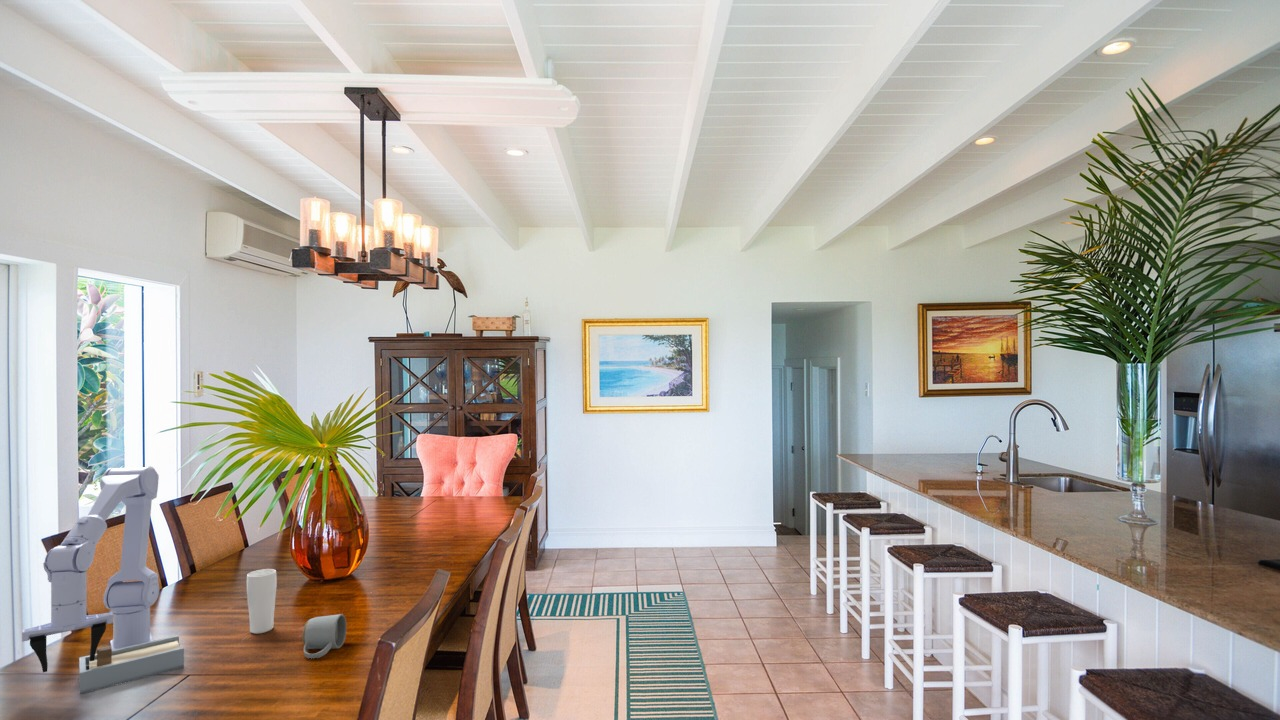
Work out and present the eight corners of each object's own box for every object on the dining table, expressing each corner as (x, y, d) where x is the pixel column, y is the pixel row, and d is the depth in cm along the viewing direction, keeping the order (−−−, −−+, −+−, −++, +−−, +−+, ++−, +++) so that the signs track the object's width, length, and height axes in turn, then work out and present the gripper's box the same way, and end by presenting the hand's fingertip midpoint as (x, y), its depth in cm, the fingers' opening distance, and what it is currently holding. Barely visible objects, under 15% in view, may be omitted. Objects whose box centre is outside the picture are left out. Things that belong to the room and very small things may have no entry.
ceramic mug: (313, 641, 161) (313, 610, 161) (347, 639, 162) (346, 609, 162) (294, 661, 151) (294, 628, 151) (331, 659, 151) (330, 626, 151)
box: (79, 677, 143) (79, 657, 143) (178, 653, 155) (178, 634, 155) (79, 694, 136) (79, 673, 136) (183, 667, 148) (183, 648, 148)
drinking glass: (243, 630, 169) (243, 572, 169) (272, 623, 173) (272, 567, 173) (250, 638, 164) (250, 578, 164) (280, 630, 168) (279, 572, 169)
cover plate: (89, 663, 143) (89, 646, 143) (177, 643, 154) (177, 626, 154) (89, 675, 138) (89, 657, 138) (181, 653, 148) (181, 636, 148)
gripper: (21, 615, 131) (21, 682, 131) (113, 597, 140) (113, 660, 140) (23, 605, 136) (23, 670, 136) (112, 589, 146) (112, 650, 145)
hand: (69, 664), depth 138 cm, fingers open, 7 cm apart
